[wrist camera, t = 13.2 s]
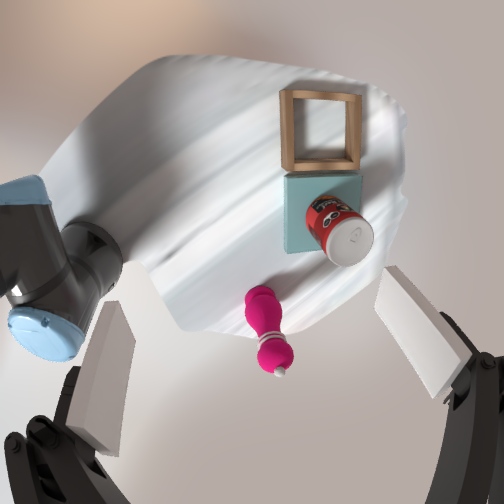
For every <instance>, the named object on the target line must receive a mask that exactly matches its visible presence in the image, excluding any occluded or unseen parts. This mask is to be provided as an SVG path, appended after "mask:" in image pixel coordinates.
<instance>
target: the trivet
mask: <svg viewBox="0 0 504 504" xmlns="http://www.w3.org/2000/svg"><path fill="white" fill-rule="evenodd" d="M362 177H363V176H361V175H359V174H357V173H351V174H311V175H290V176H284V250H285V252H286V254H292V253H300V252H309V251H317V250H322V248H321V247H320V245H319V244H318V243H317V241H316V240H315V239H314V237H313V236H312V234H311V233H310V232H309V230H308V229H307V226H306V212H307V209H308V208H309V206H310V204H311V203H312V202H313V201H314V200H316V199H317V198H319V197H322V196H326V195H328V196H335V197H337V198H339V199H340V200H342V201H343V202H344V203H345V204H347V205H348V206H349V207H351V208H352V209H353V210H354V211H356V212H357V213H358V214H359V210H360V200H361V190H362Z"/></svg>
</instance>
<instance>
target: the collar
mask: <svg viewBox="0 0 504 504" xmlns="http://www.w3.org/2000/svg"><path fill="white" fill-rule="evenodd" d="M293 98H295V99H321V100H336V101H345V104H346V125H345V159H294V111H293ZM279 99H280V127H281V167H282V168H283V169H285V170H286V171H308V170H360V152H361V117H362V98H361V95H354V94H345V93H335V92H322V91H303V90H283V91H279Z"/></svg>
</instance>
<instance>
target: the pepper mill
mask: <svg viewBox="0 0 504 504" xmlns="http://www.w3.org/2000/svg"><path fill="white" fill-rule="evenodd" d="M245 304H246V308H245V317H246V320H247V322H248V323H249V325H250V326H251V327H252V328H253V329H254V330H255V331H256V332H257V335H258V337H259V339H258V342H257V345H258V349H259V351H258V354H257V359H258V362H259V365H260V366H261V367H262V369H263V370H265V371H267V372H270V373H274V374H275V375H276V376H277V377H282V376H283V375H285V370H286V369H287V368H289V366H291V364H292V362H293V359H294V355H293V350H292V348H291V346H290V345H289V344H288V343H287V341H286V338H285V336H284V334H283V333H281V331H280V323H281V319H282V308H281V304H280V303H279V301H278V300H277V299H276V297H275V294H274V292H273V291H272V290H271V289H270V288H268V287H264V286H259V287H255V288H253V289H251V290H250V291H249V292H248V293H247V294H246V296H245Z"/></svg>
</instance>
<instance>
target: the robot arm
mask: <svg viewBox="0 0 504 504" xmlns="http://www.w3.org/2000/svg"><path fill="white" fill-rule="evenodd" d="M51 204H52V202H51V201H50V200H49V197H48V194H47V191H46V187H45V184H44V181H43V180H42V178H41V177H39V176H37V175H30V176H26V177H23V178H19V179H16V180H13V181H10V182H7V183H4V184H1V185H0V298H1V297H2V296H4V295H6V296H7V298H8V300H9V302H10V304H11V306H12V310H10V312H9V317H8V327H9V330H10V332H11V333H12V335H13V336H14V338H15V339H16V340H17V341H18V343H19V344H20V345H22V346H23V347H24V348H25V349H27V350H28V351H29V352H31V353H33V354H34V355H36V356H38V357H40V358H43V359H46V360H49V361H53V362H66V361H69V360H72V359H73V358H74V357H75V356H76V355H77V354H78V352H79V349H80V347H81V345H82V344H83V342H84V341H85V337H86V334H87V331H88V328H89V326H90V323H91V320H92V317H93V315H94V312H95V310H96V307H97V305H98V302H99V300H100V299H101V298H102V297H103V296H105V295H106V294H107V293H108V292H109V291H110V290H112V289H113V288H114V286H115V285H116V283H117V282H118V280H119V277H120V275H121V272H122V267H123V261H122V255H121V252H120V249H119V247H118V245H117V244H116V242H115V241H114V239H113V238H112V237H111V236H110V235H109V234H108V233H107V232H106V231H105V230H103V229H102V228H100V227H98V226H96V225H94V224H91V223H87V222H77V223H73V224H70V225H68V226H67V227H65V228H64V229H63V230H62V231H61V232H59V229H58V226H57V223H56V219H55V216H54V213H53V209H52V206H51ZM374 309H375V311H376V312H377V313H378V315H379V316H380V318H381V319H382V321H383V322H384V323H385V325H386V326H387V328H388V329H389V331H390V332H391V334H392V335H393V337H394V338H395V340H396V341H397V343H398V344H399V346H400V347H401V349H402V350H403V352H404V353H405V355H406V357H407V358H408V360H409V361H410V363H411V364H412V366H413V367H414V369H415V370H416V372H417V374H418V376H419V377H420V379H421V380H422V382H423V384H424V385H425V387H426V389H427V390H428V392H429V394H430V395H431V397H432V399H434V398H436V397H438V396H440V395H442V394H444V393H445V392H446V391H447V389H448V388H449V387H450V385H451V387H452V388H453V390H452V391H451V392H450V394H449V395H448V396H447V397H446V399H445V400H444V402H443V404H445V403H446V402H447V401H448V400H449V399H450V402H449V403H448V405H449V409H448V416H447V422H446V428H445V433H444V438H443V443H442V447H441V452H440V456H439V460H438V464H437V467H436V471H435V474H434V478H433V481H432V485H431V487H430V491H429V493H428V496H427V499H426V502H425V504H486V503H487V499H488V504H504V356H500V357H494V356H492V355H491V354H489V353H487V352H482V353H480V352H479V351H478V350H477V349H476V347H475V346H474V345H473V344H472V342H471V341H470V340H469V339H468V337H467V336H466V335H465V334H464V332H462V331H461V329H460V328H459V327H458V326H457V324H456V323H455V322H454V321H453V319H452V318H451V317H450V316H448V315H447V314H445V313H444V312H438V311H437V310H436V309H435V307H433V305H432V304H431V303H430V302H429V301H428V300H427V298H426V297H425V296H424V295H423V294H422V293H421V292H420V291H419V290H418V289H417V287H416V286H415V285H413V283H412V282H411V281H410V280H409V279H408V278H407V277H406V276H405V275H404V274H403V273H402V272H401V271H400V269H399V268H398V267H397V266H389V267H384V270H383V274H382V278H381V282H380V286H379V290H378V294H377V298H376V302H375V305H374ZM135 343H136V340H135V338H134V336H133V333H132V331H131V329H130V327H129V324H128V322H127V320H126V317H125V315H124V313H123V310H122V308H121V305H120V303H119V301H107V302H104V305H103V307H102V310H101V312H100V315H99V317H98V320H97V323H96V325H95V328H94V331H93V333H92V336H91V339H90V342H89V345H88V348H87V351H86V353H85V356H84V360H83V363H82V366H73V367H72V368H71V370H70V371H69V373H68V374H67V375H66V379H65V381H64V385H63V386H64V387H63V388H62V391H61V395H60V398H59V401H58V405H57V408H56V412H55V416H54V420H53V422H52V421H51V420H50V419H49V418H47V417H46V416H44V415H38V416H35V417H33V418H32V419H31V420H30V421H29V423H28V425H27V428H26V435H27V438H25V437H24V436H23V435H21V434H20V433H18V432H12V433H10V434H9V435H8V436H7V437H6V439H5V442H4V450H5V458H6V465H7V471H8V477H9V482H10V487H11V491H12V495H13V499H14V503H15V504H130V502H129V501H128V500H127V499H126V498H125V496H124V495H123V494H122V493H121V491H120V490H119V489H118V487H117V486H116V485H115V484H114V482H113V481H112V479H111V478H110V477H109V475H108V474H107V472H106V471H105V470H104V468H103V467H102V465H101V464H100V462H99V461H98V459H97V458H96V457H95V450H96V451H98V452H99V453H100V454H102V455H107V456H114V457H119V447H120V437H121V427H122V420H123V412H124V405H125V398H126V392H127V386H128V380H129V373H130V368H131V363H132V358H133V352H134V347H135ZM488 495H489V497H488Z"/></svg>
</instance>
